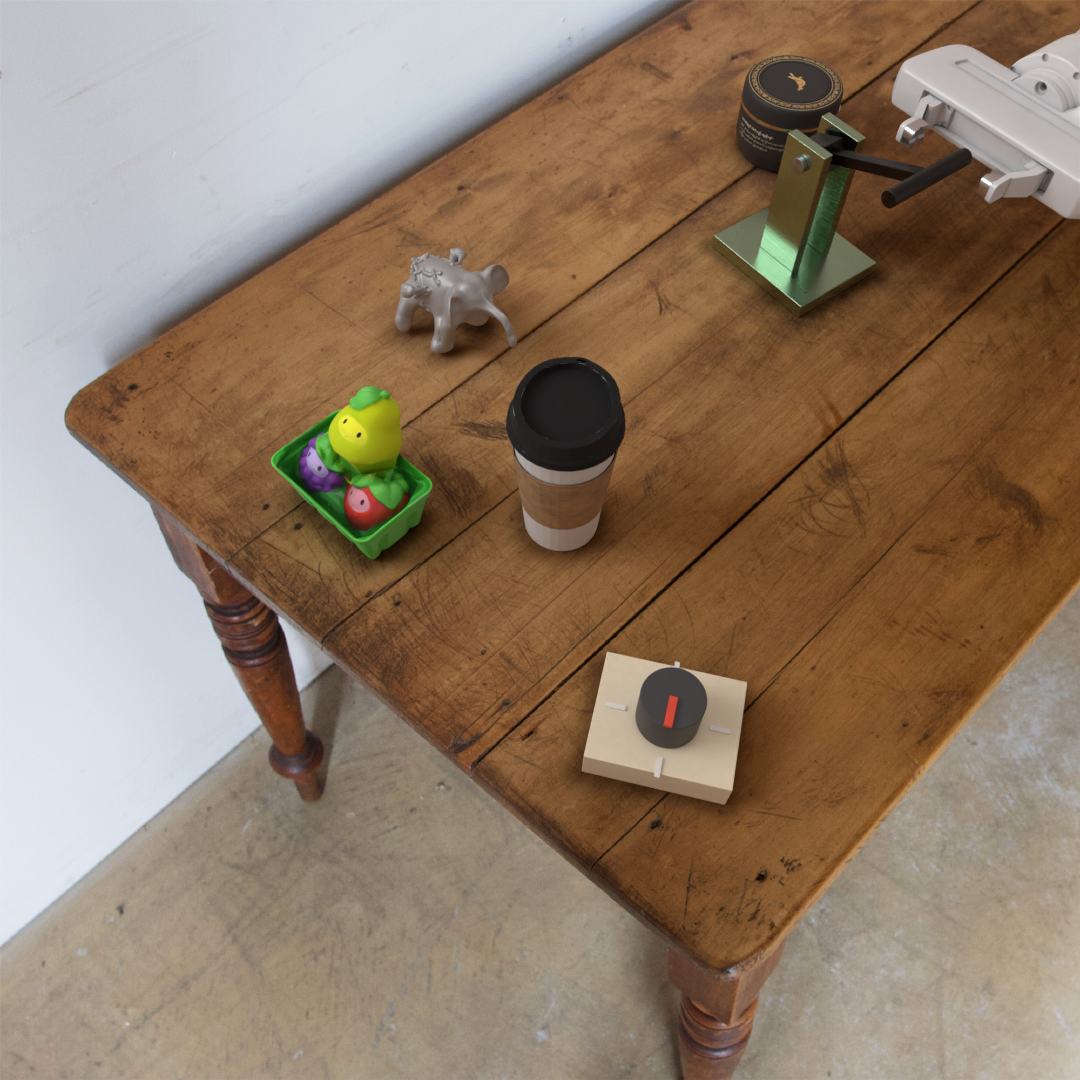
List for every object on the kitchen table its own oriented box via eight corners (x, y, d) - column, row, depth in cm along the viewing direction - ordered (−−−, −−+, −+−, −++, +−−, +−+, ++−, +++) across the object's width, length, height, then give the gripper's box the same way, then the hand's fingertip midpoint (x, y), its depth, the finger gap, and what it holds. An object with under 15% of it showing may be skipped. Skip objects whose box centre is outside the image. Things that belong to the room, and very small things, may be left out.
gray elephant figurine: (428, 283, 94) (420, 217, 88) (545, 317, 92) (547, 253, 86) (385, 350, 90) (373, 286, 83) (507, 388, 87) (505, 325, 81)
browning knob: (642, 681, 69) (648, 657, 66) (704, 696, 69) (713, 673, 65) (629, 739, 67) (634, 717, 64) (693, 756, 66) (701, 734, 63)
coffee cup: (625, 493, 81) (642, 368, 69) (596, 577, 77) (609, 461, 64) (527, 467, 83) (527, 340, 70) (494, 549, 78) (487, 430, 66)
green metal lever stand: (872, 273, 96) (920, 149, 84) (797, 318, 92) (836, 195, 81) (785, 206, 101) (818, 80, 89) (711, 246, 97) (736, 121, 86)
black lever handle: (971, 172, 80) (973, 143, 79) (895, 216, 78) (895, 186, 76) (846, 145, 90) (845, 118, 88) (773, 183, 87) (772, 156, 85)
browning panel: (740, 695, 72) (748, 677, 69) (724, 809, 68) (732, 794, 65) (605, 665, 73) (608, 646, 71) (580, 775, 69) (582, 759, 66)
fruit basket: (278, 496, 81) (245, 406, 71) (361, 435, 84) (340, 342, 75) (370, 581, 77) (348, 497, 67) (453, 513, 80) (443, 424, 71)
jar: (777, 107, 110) (793, 41, 103) (846, 152, 105) (866, 86, 99) (712, 142, 106) (724, 76, 100) (780, 191, 102) (797, 124, 96)
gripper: (970, 9, 86) (859, 64, 81) (1177, 128, 77) (1064, 197, 72) (945, 77, 91) (838, 132, 86) (1135, 196, 82) (1028, 264, 78)
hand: (943, 163), depth 79 cm, fingers open, 7 cm apart
